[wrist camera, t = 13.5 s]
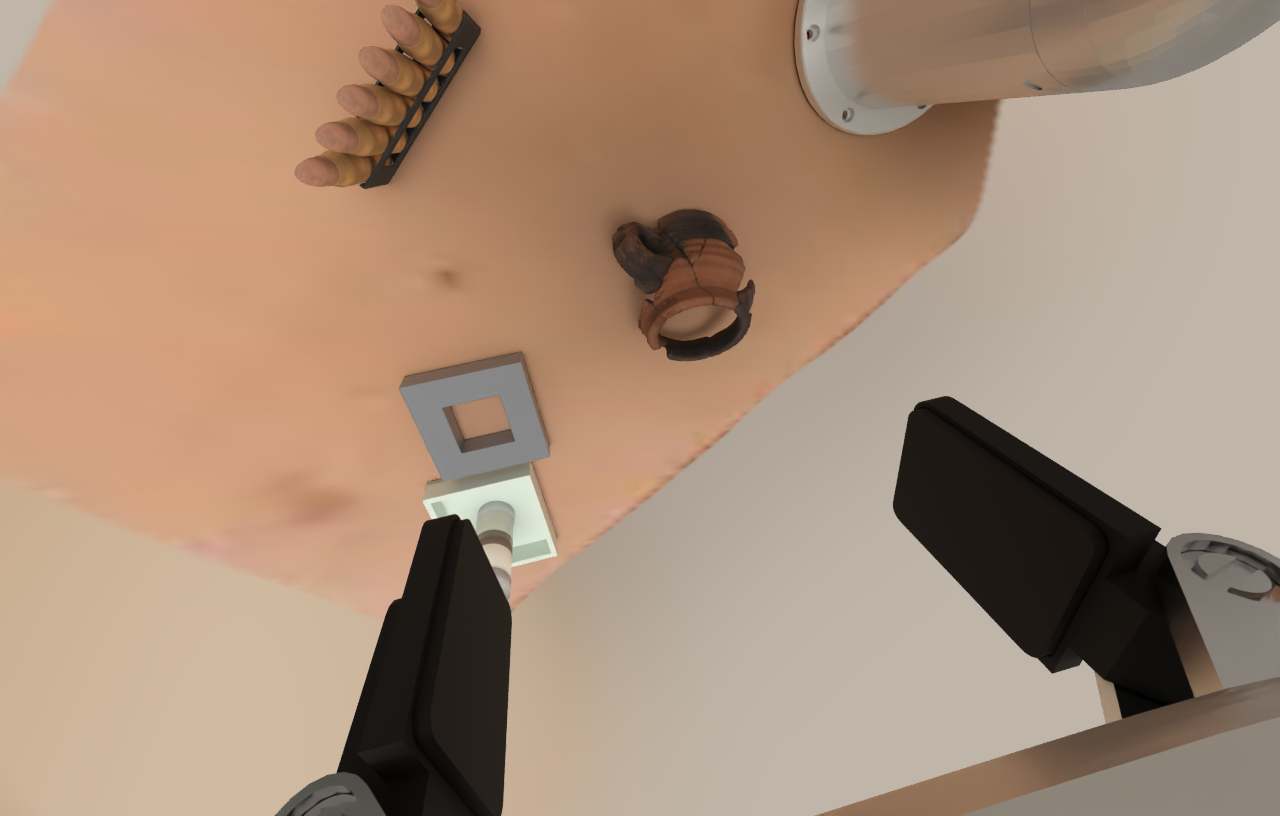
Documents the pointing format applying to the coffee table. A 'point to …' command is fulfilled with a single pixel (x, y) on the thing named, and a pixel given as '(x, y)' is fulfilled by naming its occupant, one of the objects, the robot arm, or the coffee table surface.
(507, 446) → the socket block
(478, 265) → the coffee table surface
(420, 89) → the ammunition clip
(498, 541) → the cylinder
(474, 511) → the parts tray
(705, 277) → the pottery mug
